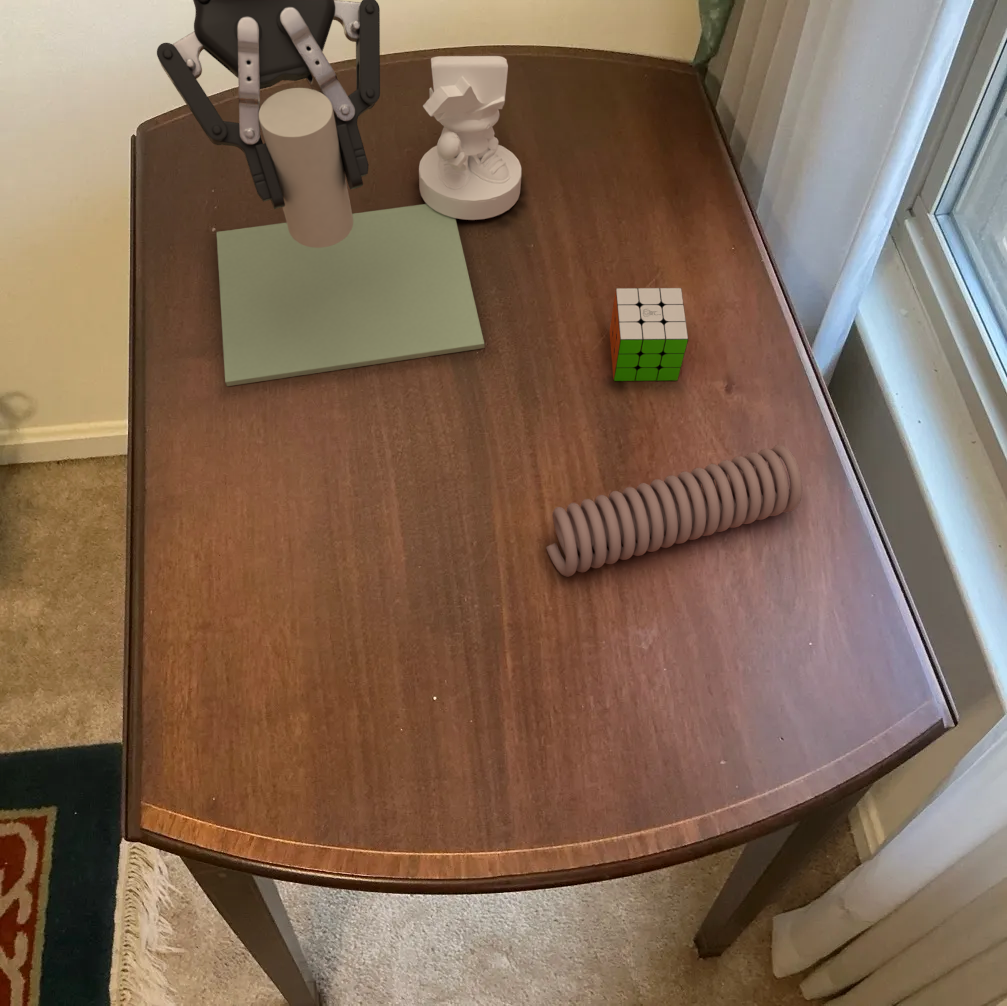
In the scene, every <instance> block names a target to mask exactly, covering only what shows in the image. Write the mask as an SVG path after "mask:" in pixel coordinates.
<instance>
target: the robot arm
mask: <svg viewBox="0 0 1007 1006" xmlns="http://www.w3.org/2000/svg"><path fill="white" fill-rule="evenodd" d="M192 2H193V5H194V8H195V15H194V21H193V31H192V32H190V33H189V34H187V35H186V36H184V37H182V38H180V39H179V40H177V41H175V42H173V43H170V42H162V43H160V45H158V47H157V50H156V56H157V58H158V61H159V64H160V67H162V69H163V71H164V72H165V74H166V75H167V77H168V78H169V80H170V81H171V83H172V85H173V86H174V88H175V89H176V91H177V92H178V93H179V95H180V97H181V98H182V100H183V101H184V103H185V104H186V106H187V108H188V109H189V111H190V112H191V114H192V115H193V116H194V117H193V118H195V120H196V122H197V123H198V125H199V126H200V127H201V129H202V130H203V132H204V133H205V135H206V136H207V138H208V140H209V141H210V142H211V143H212V144H213V145H216V146H228V147H229V146H231V147H235V148H238V149H239V150H241V151H242V153H243V154H244V157H245V160H246V162H247V163H246V164H247V165H248V169H249V172H250V175H251V178H252V181H253V185H254V188H255V191H256V194H257V196H258V197H259V198H260V200H261V201H262V202H268V201H270V202H271V205H272V208H273V210H277V209H280V208H283V207H285V202H284V199H283V195H282V192H281V189H280V186H279V182H278V179H277V176H276V173H275V169H274V166H273V163H272V160H271V157H270V153H269V150H268V148H267V146H266V143H265V142H263V139H262V135H261V125H260V121H259V110H260V108H261V104H260V103H261V99H260V98H261V95H260V94H261V92H260V91H261V90H262V89H263V90H264V89H268V88H271V87H274V86H275V85H276V84H278V83H280V82H282V81H289V82H296V81H301V80H306V81H307V83H308V84H309V86H310V89H313V90H316V91H318V92H320V93H322V94H324V95H325V96H326V97H327V98H328V99H329V100H330V102H331V104H332V108H333V113H334V118H335V124H336V129H337V134H338V140H339V145H340V151H341V156H342V161H343V167H344V172H345V178H346V183H347V186H348V188H349V190H351V191H352V190H355V189H358V188H361V187H363V185H364V181H363V177H366V176H367V175H368V174H369V165H370V164H369V161H368V158H367V155H366V151H365V147H364V143H363V139H362V137H361V133H360V129H359V125H358V120H359V117H360V116H361V115H362V114H364V113H365V112H366V111H368V110H371V109H372V108H373V107H374V106H375V105H376V103H377V102H378V101H379V99H380V97H381V25H380V24H381V19H380V18H381V11H380V5H379V3H378V1H377V0H361V1H360V2H359V1H349V0H192ZM333 21H336V22H338V23H339V24H340V25H341V27H342V28H343V34H344V36H345V38H346V39H347V40H348V41H350V42H352V43H355V90H354V91H353V92H351V93H350V94H347V92H346V90H345V89H344V87H343V85H342V84H341V83H340V81H339V78H338V76H337V74H336V72H335V69H334V68H333V67H332V65H331V64H330V62H329V60H328V59H327V57H326V55H325V53H324V48H325V45H326V42H327V39H328V36H329V33H330V30H331V27H332V23H333ZM203 51H205V52H207V53H208V54H209V55H210V56H211V57H212V58H213V59H215V60H216V61H217V62H219V64H221V65H222V66H223V67H224V68H225V69H226V70H228V71H229V72H230V73H231V74H232V75H234V76H235V77H236V78H237V79H238V121H239V122H234V121H225V120H223V118H222V117H221V115H220V114H219V112H218V111H217V109H216V107H215V106H214V105H213V103H212V101H211V100H210V98H209V97H208V95H207V94H206V92H205V90H204V88H203V87H202V85H200V83H199V81H198V80H197V79H199V78H200V77H201V76H202V73H203V66H202V62H201V60H200V55H201V52H203Z"/></svg>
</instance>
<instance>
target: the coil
mask: <svg viewBox="0 0 1007 1006" xmlns="http://www.w3.org/2000/svg"><path fill="white" fill-rule="evenodd" d="M783 463H784V465H783ZM754 467H755V468H754ZM785 467H786V468H785ZM786 470H787V472H786ZM741 472H742V474H741ZM787 474H788V475H787ZM788 478H789V479H788ZM715 483H716V484H715ZM716 486H717V487H716ZM789 487H790V488H789ZM717 490H718V492H717ZM703 492H704V493H703ZM718 493H719V495H720V498H719V495H718ZM733 494H734V496H733ZM704 495H705V496H704ZM802 495H803V479H802V472H801V470H800V466H799V464H798V461H797V459H796V457H795V456H794V454H793V452H792V451H791V449H789V448H788V447H787V446H785V445H782V444H777V445H774V446H773V447H771V449H770V448H762V449H760V450H759V451H758V452H754V451H753V452H748V453H747V454H746V455H744V456H741V455H738V456H735V457H733V458H732V459H731V460H729V459H723V460H721V461H720V462H719V463H718V464H717V463H716V464H715V463H709V464H707V465H706V466H705V467H704V468H702V467H695V468H693V469H692V470H691V471H690V472H689V471H686V470H685V471H681V472H680V473H678V475H677V476H675V475H673V474H670V475H667V476H666V477H665V478H664V479H663V480H662V479H659V478H657V479H656V478H655V479H653V480H652V481H651V482H650V484H648V483H646V482H642V483H639V484H638V485H637V487H636V488H634V487H632V486H628V487H625V488H624V489H623V490H622V492H621V491H618V490H613V491H611V492H610V493H609V496H607V495H604V494H599V495H597V496H596V497H595V499H594V500H592V499H591V498H585V499H583V500H582V501H581V503H580V505H579V504H578V503H576V502H571V503H569V504H568V505H567V508H566V509H565V508H564V507H562V506H556V507H555V508H554V509H553V511H552V520H553V526H554V530H555V533H556V537H557V540H558V543H559V544H560V545H559V546H560V548H561V551H562V552H563V554H564V556H565V559H564V557H563V555H562V553H561V551H560V549H559V547H558V544H557V542H554V543H552V544H550V545H547V546H545V548H546V549H545V550H546V551H547V554H548V556H549V558H550V560H551V562H552V564H553V565H554V567H555V568H556V570H557V571H558V572H559V574H561V576H564V577H572V576H573V575H574V574H576V572H578V573H585V572H587V571H588V570H590V568H593V569H600V568H602V566H604V564H607V565H613V564H615V563H617V561H619V560H622V561H626V560H629V559H630V558H632V556H636V557H639V556H643V555H644V554H645V553H646V552H651V553H652V552H656V551H658V550H659V549H660V548H663V549H667V548H670V547H672V546H673V545H674V544H678V545H679V544H684V543H686V542H687V541H688V540H691V541H692V540H693V541H694V540H697V539H699V538H701V537H702V536H704V537H706V536H712V535H713V534H714V533H715V532H718V533H719V532H720V533H722V532H725V531H727V530H728V529H729V528H731V529H733V528H739V527H740V526H742V525H743V524H744V525H747V524H753V523H754V522H756V520H757V521H762V520H765V519H767V518H768V517H776V516H779V515H780V514H782V513H790V512H792V511H794V510H795V509H797V508H798V506H799V505H800V502H801V499H802ZM705 499H706V500H705ZM607 547H608V548H607ZM593 551H594V552H593ZM578 553H579V555H578Z"/></svg>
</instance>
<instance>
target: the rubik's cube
mask: <svg viewBox="0 0 1007 1006" xmlns="http://www.w3.org/2000/svg"><path fill="white" fill-rule="evenodd" d="M684 304H685V303H684V296H683V288H682V287H640V288H639V287H621V288H619V287H616V288H615V292H614V298H613V305H612V311H611V319H610V325H609V332H608V333H609V342H610V355H611V367H612V378H613V382H648V381H649V382H658V381H660V382H661V381H667V382H668V381H671V382H672V381H677V382H678V380H679V377H680V373H681V369H682V365H683V362H684V358H685V354H686V349H687V346H688V342H689V333H688V325H687V320H686V312H685V305H684Z"/></svg>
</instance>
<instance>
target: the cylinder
mask: <svg viewBox="0 0 1007 1006" xmlns="http://www.w3.org/2000/svg"><path fill="white" fill-rule="evenodd" d="M259 121H260V129H261V131H262V136H263V139H264V143H266V146H267V148H268V150H269V153H270V157H271V160H272V163H273V166H274V169H275V173H276V176H277V179H278V182H279V186H280V189H281V192H282V195H283V199H284V202H285V207H282V210H283V214H284V218H285V223H287V226H288V230H289V233H290V235H291V236H292V237H293V239H294V240H296V241H297V242H298V243H300V244H302V245H305V246H308V247H314V248H321V247H328V246H332V245H334V244H337V243H339V242H340V241H342V240H343V239H344V238H346V237H347V236H348V234H349V233H350V231H351V229H352V227H353V215H352V214H353V211H352V206H351V201H350V194H349V190H348V188H349V187H348V182H347V179H346V175H345V172H344V167H343V161H342V156H341V151H340V145H339V140H338V134H337V129H336V124H335V118H334V113H333V108H332V104H331V102H330V100H329V99H328V98H327V97H326V96H325V95H324V94H322V93H320V92H318V91H316V90H313V89H312V88H308V87H292V88H287V89H283V90H280V91H277V92H275V93H273V94H272V95H270V96H269V97H267V98H266V99H265V100H264V101H263V103H262V104H261V105H260V110H259Z"/></svg>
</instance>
